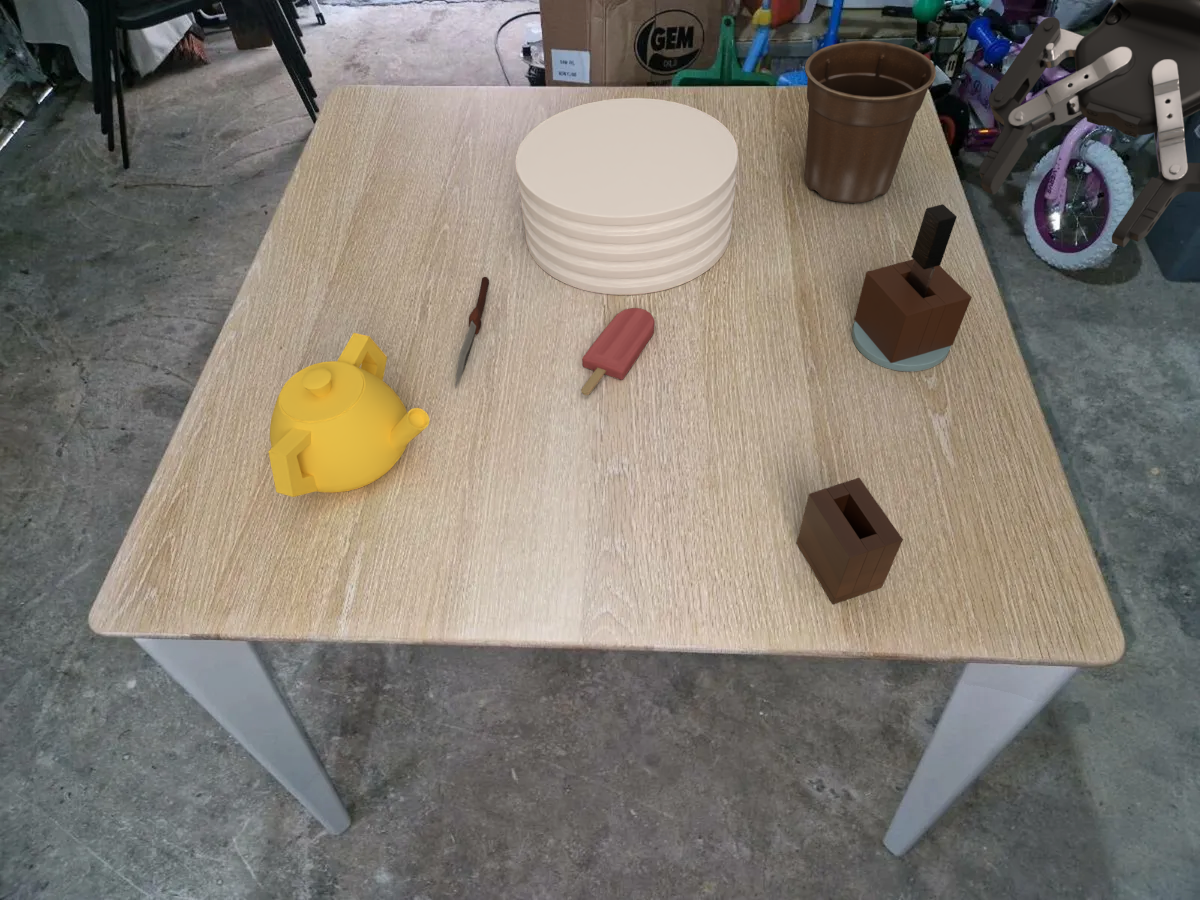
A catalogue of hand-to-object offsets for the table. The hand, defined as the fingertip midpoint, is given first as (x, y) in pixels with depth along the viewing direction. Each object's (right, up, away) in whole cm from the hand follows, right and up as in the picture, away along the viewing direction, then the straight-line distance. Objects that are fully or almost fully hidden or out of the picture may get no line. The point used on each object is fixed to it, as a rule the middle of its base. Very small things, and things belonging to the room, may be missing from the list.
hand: (1049, 214), depth 50 cm
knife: (-44, -2, +46) cm, 64 cm away
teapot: (-54, -15, +36) cm, 66 cm away
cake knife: (+7, -1, +42) cm, 43 cm away
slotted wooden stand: (+7, -2, +43) cm, 43 cm away
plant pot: (+7, +24, +64) cm, 69 cm away
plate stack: (-25, +15, +59) cm, 66 cm away
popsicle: (-27, -4, +43) cm, 51 cm away
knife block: (-6, -26, +24) cm, 36 cm away
